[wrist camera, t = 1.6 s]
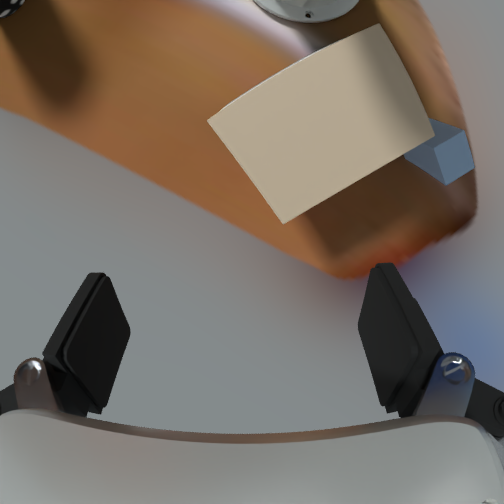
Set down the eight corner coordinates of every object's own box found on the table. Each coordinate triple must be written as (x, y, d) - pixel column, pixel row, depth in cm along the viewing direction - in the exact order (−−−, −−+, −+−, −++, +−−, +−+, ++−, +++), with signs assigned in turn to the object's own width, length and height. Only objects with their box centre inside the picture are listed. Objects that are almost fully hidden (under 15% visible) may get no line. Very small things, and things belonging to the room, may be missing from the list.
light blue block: (380, 40, 24) (421, 32, 16) (430, 144, 30) (474, 167, 22) (351, 54, 25) (386, 47, 18) (405, 158, 31) (445, 185, 23)
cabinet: (325, 45, 25) (379, 23, 13) (365, 110, 28) (435, 135, 16) (225, 104, 28) (206, 120, 16) (270, 165, 32) (283, 224, 20)
